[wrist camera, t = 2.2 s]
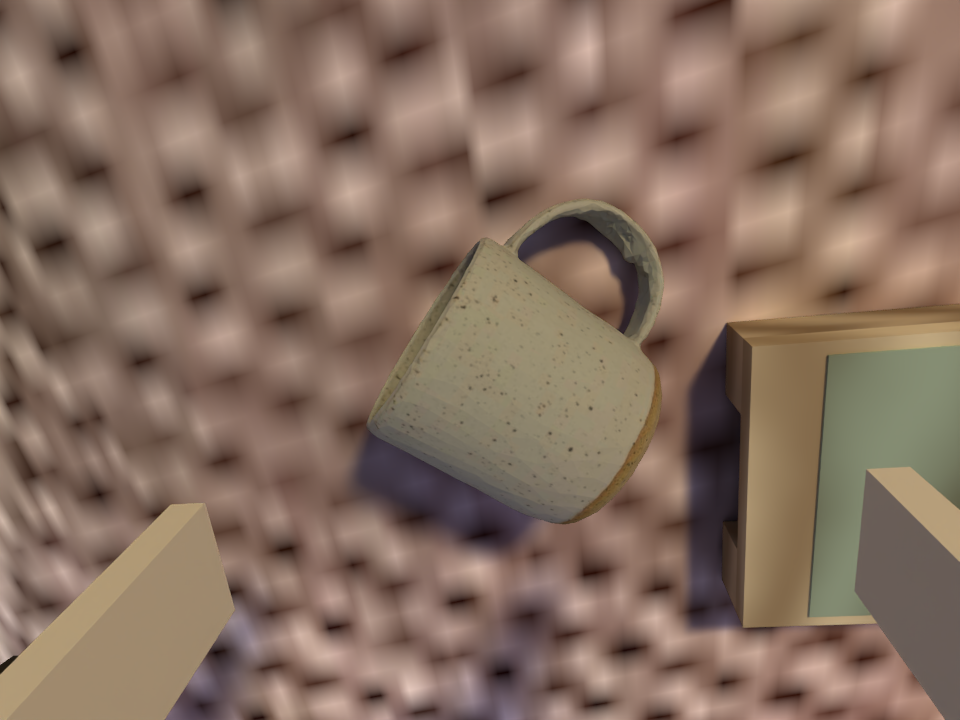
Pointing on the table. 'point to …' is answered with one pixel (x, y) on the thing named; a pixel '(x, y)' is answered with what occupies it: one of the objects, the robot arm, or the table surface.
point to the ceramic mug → (530, 378)
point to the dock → (831, 448)
